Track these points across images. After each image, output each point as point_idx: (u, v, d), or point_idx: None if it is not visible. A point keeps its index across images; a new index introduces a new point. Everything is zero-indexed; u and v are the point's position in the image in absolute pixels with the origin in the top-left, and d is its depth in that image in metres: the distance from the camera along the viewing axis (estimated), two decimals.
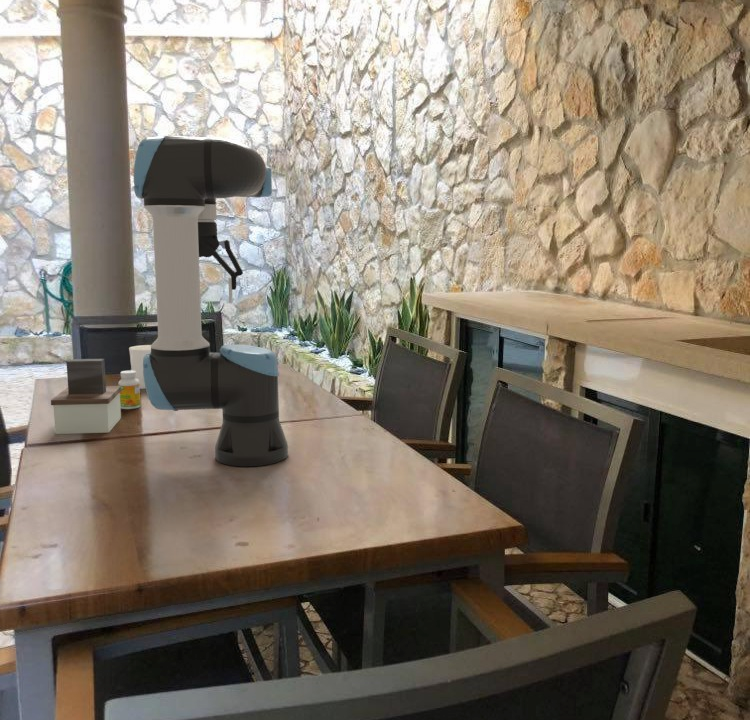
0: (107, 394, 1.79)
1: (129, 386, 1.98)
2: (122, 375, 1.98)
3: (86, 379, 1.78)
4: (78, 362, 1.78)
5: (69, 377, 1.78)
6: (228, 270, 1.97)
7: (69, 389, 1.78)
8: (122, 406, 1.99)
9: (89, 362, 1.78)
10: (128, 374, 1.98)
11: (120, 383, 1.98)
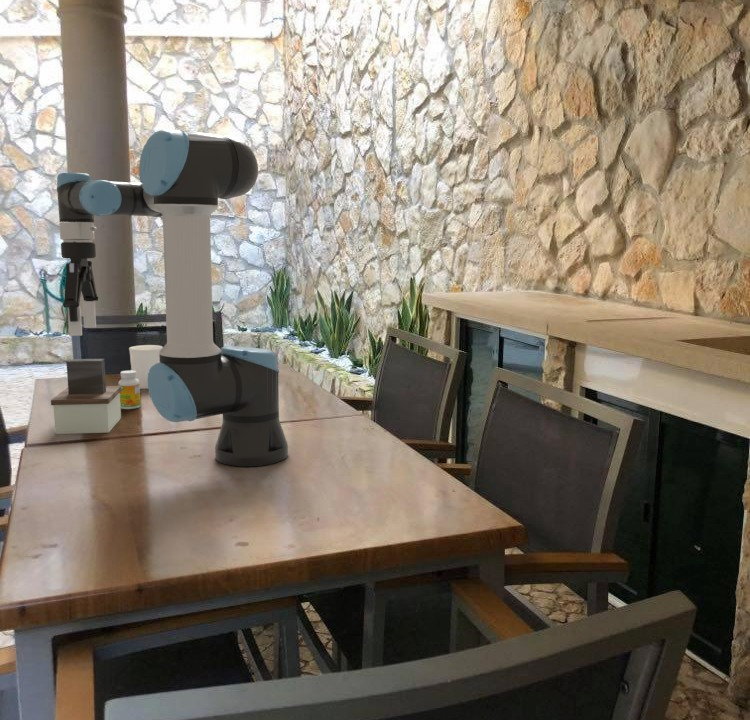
0: (107, 394, 1.79)
1: (129, 386, 1.98)
2: (122, 375, 1.98)
3: (86, 379, 1.78)
4: (78, 362, 1.78)
5: (69, 377, 1.78)
6: None
7: (69, 389, 1.78)
8: (122, 406, 1.99)
9: (89, 362, 1.78)
10: (128, 374, 1.98)
11: (120, 383, 1.98)
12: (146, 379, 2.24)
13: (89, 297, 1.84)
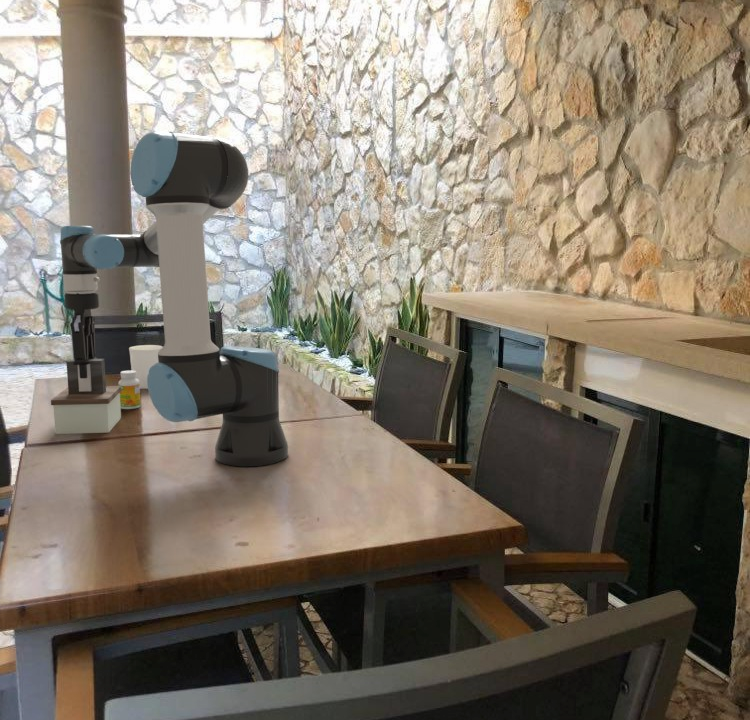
0: (107, 394, 1.79)
1: (129, 386, 1.98)
2: (122, 375, 1.98)
3: None
4: None
5: (69, 377, 1.78)
6: None
7: (69, 389, 1.78)
8: (122, 406, 1.99)
9: (89, 362, 1.78)
10: (128, 374, 1.98)
11: (120, 383, 1.98)
12: (146, 379, 2.24)
13: (88, 357, 1.81)
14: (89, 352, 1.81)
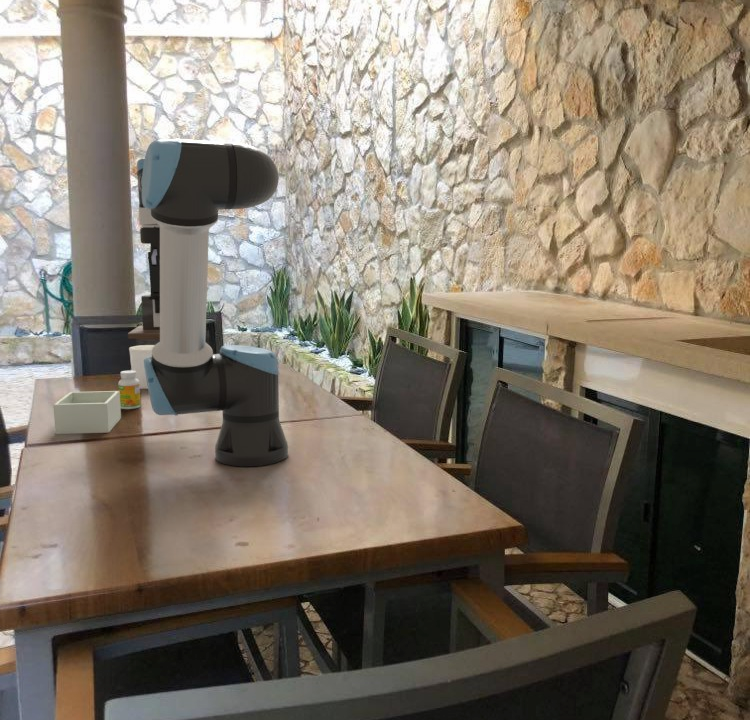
0: None
1: (129, 386, 1.98)
2: (122, 375, 1.98)
3: None
4: None
5: (144, 312, 1.78)
6: None
7: (144, 324, 1.78)
8: (122, 406, 1.99)
9: None
10: (128, 374, 1.98)
11: (120, 383, 1.98)
12: None
13: None
14: None
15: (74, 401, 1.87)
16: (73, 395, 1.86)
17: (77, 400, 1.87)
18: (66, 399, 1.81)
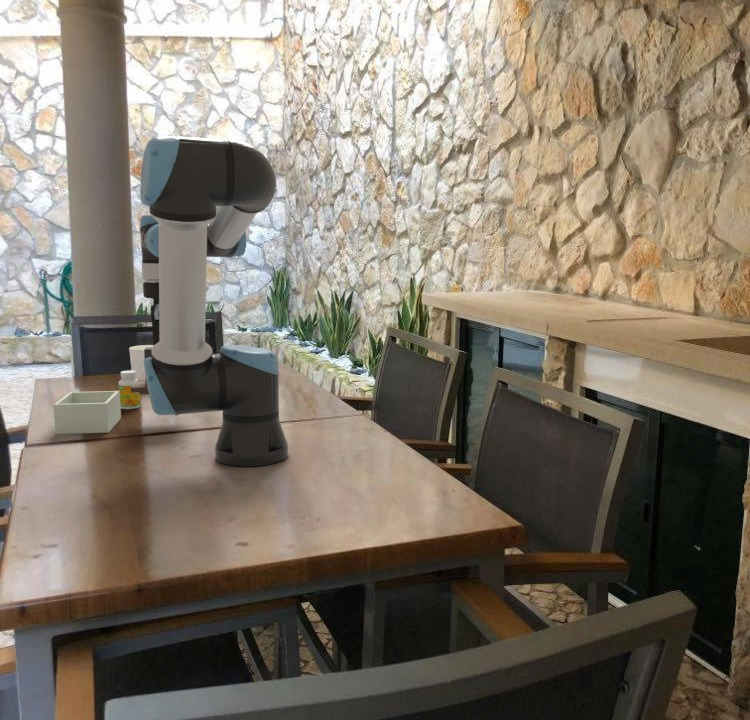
0: None
1: (129, 386, 1.98)
2: (122, 375, 1.98)
3: None
4: None
5: None
6: None
7: None
8: (122, 406, 1.99)
9: None
10: (128, 374, 1.98)
11: (120, 383, 1.98)
12: None
13: None
14: None
15: (74, 401, 1.87)
16: (73, 395, 1.86)
17: (77, 400, 1.87)
18: (66, 399, 1.81)
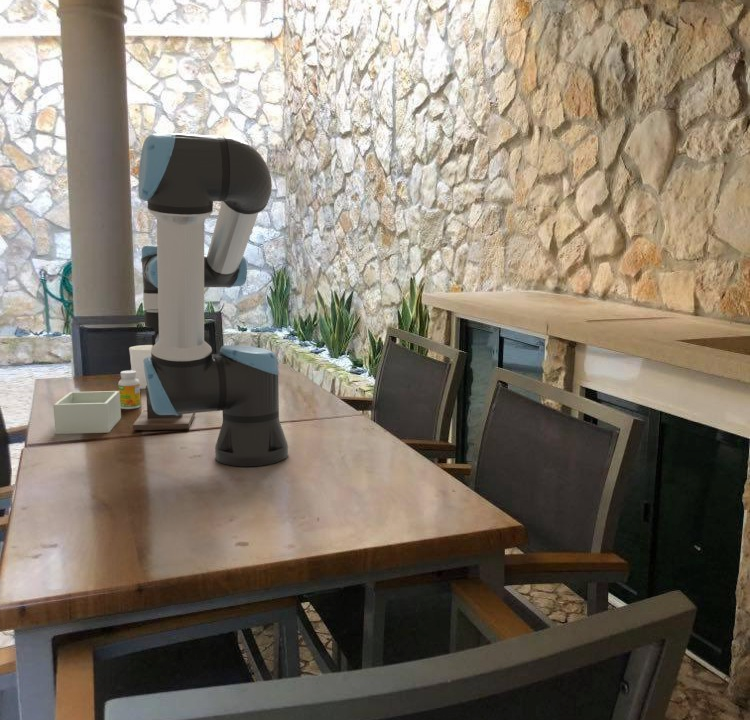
0: (185, 418, 1.82)
1: (129, 386, 1.98)
2: (122, 375, 1.98)
3: None
4: None
5: (148, 402, 1.81)
6: None
7: (148, 413, 1.82)
8: (122, 406, 1.99)
9: None
10: (128, 374, 1.98)
11: (120, 383, 1.98)
12: None
13: None
14: None
15: (74, 401, 1.87)
16: (73, 395, 1.86)
17: (77, 400, 1.87)
18: (66, 399, 1.81)
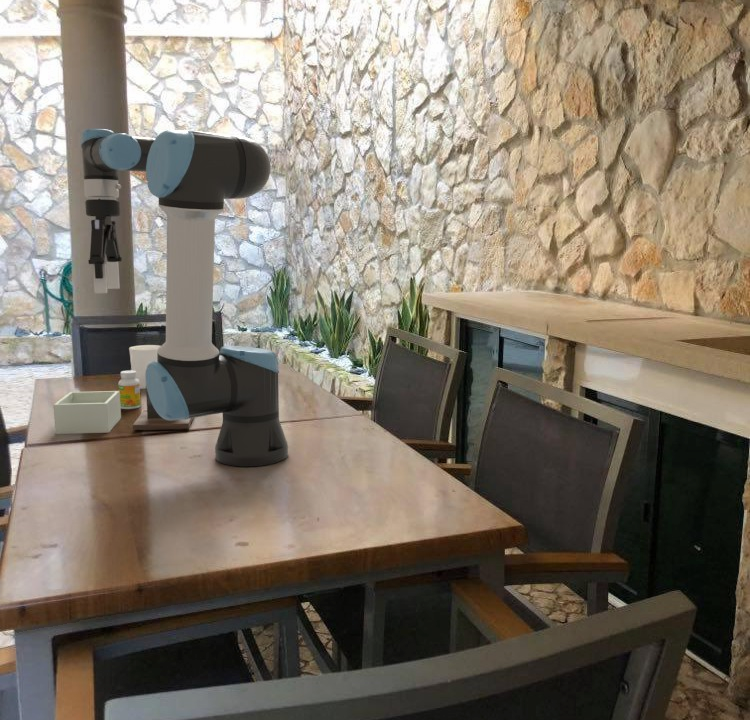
0: None
1: (129, 386, 1.98)
2: (122, 375, 1.98)
3: None
4: None
5: (148, 402, 1.81)
6: None
7: (148, 413, 1.82)
8: (122, 406, 1.99)
9: None
10: (128, 374, 1.98)
11: (120, 383, 1.98)
12: None
13: (112, 258, 1.83)
14: (113, 255, 1.82)
15: (74, 401, 1.87)
16: (73, 395, 1.86)
17: (77, 400, 1.87)
18: (66, 399, 1.81)
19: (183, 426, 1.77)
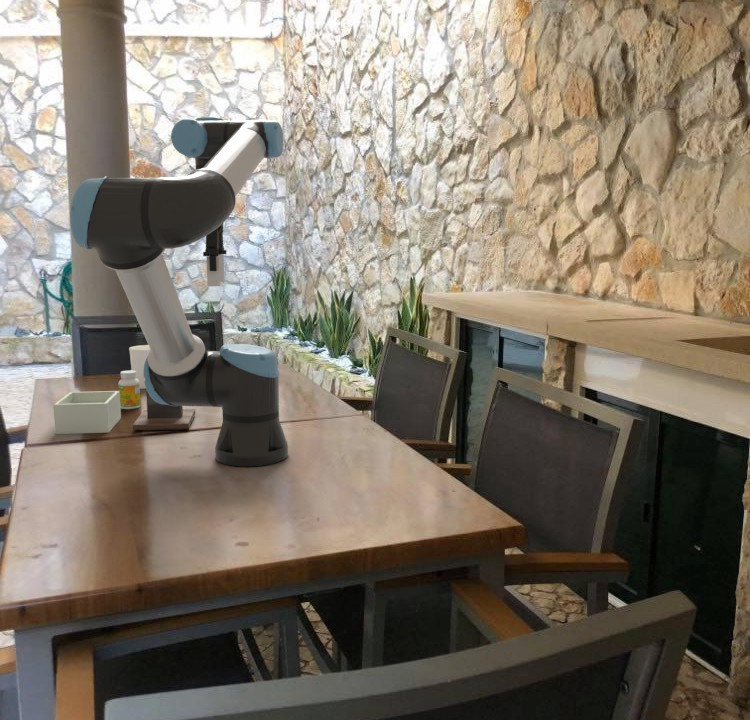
0: (185, 418, 1.82)
1: (129, 386, 1.98)
2: (122, 375, 1.98)
3: None
4: None
5: (148, 402, 1.81)
6: None
7: (148, 413, 1.82)
8: (122, 406, 1.99)
9: None
10: (128, 374, 1.98)
11: (120, 383, 1.98)
12: None
13: (218, 250, 1.78)
14: (219, 248, 1.77)
15: (74, 401, 1.87)
16: (73, 395, 1.86)
17: (77, 400, 1.87)
18: (66, 399, 1.81)
19: (183, 426, 1.77)
